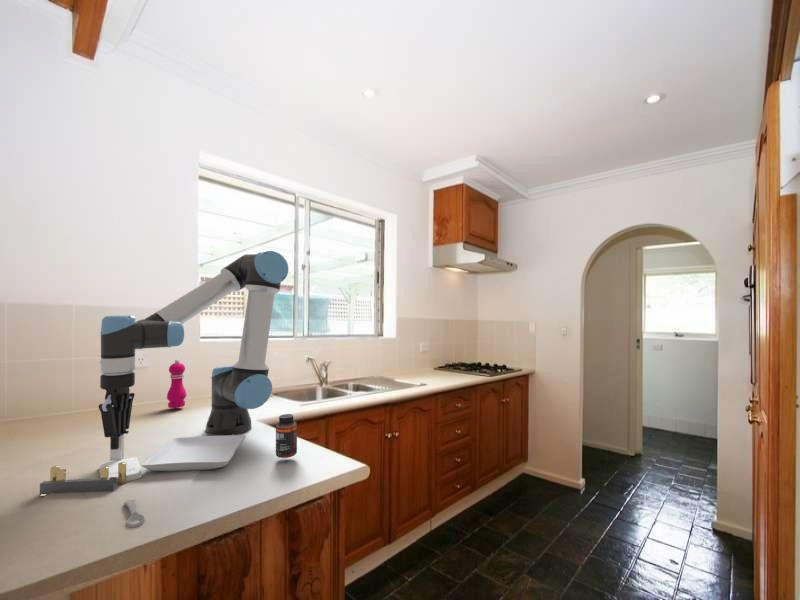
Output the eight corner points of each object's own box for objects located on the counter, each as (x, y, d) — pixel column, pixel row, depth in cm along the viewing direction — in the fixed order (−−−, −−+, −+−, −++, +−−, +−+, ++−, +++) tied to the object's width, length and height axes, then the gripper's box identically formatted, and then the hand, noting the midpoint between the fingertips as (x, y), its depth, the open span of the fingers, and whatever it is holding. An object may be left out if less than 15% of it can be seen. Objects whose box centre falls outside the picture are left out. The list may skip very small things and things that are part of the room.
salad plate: (246, 444, 121) (246, 433, 121) (228, 473, 100) (228, 459, 100) (173, 447, 118) (173, 436, 118) (139, 478, 97) (139, 465, 97)
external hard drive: (137, 462, 106) (142, 478, 96) (99, 470, 101) (100, 487, 91) (137, 456, 106) (142, 471, 96) (99, 464, 101) (100, 480, 91)
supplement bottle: (295, 449, 116) (296, 412, 116) (298, 457, 110) (298, 417, 110) (274, 452, 114) (275, 413, 114) (276, 460, 108) (276, 419, 108)
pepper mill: (180, 408, 161) (180, 360, 161) (162, 408, 161) (163, 360, 161) (189, 404, 168) (190, 358, 168) (173, 403, 168) (173, 358, 168)
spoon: (127, 533, 74) (127, 523, 74) (120, 508, 83) (120, 499, 83) (146, 527, 76) (146, 517, 76) (137, 504, 85) (137, 494, 85)
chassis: (127, 482, 94) (127, 461, 94) (115, 492, 89) (116, 470, 89) (53, 486, 92) (53, 465, 92) (37, 497, 87) (37, 474, 87)
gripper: (116, 368, 110) (115, 451, 110) (87, 377, 97) (86, 470, 97) (144, 368, 111) (143, 449, 111) (120, 377, 98) (118, 469, 99)
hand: (117, 459), depth 104 cm, fingers closed
